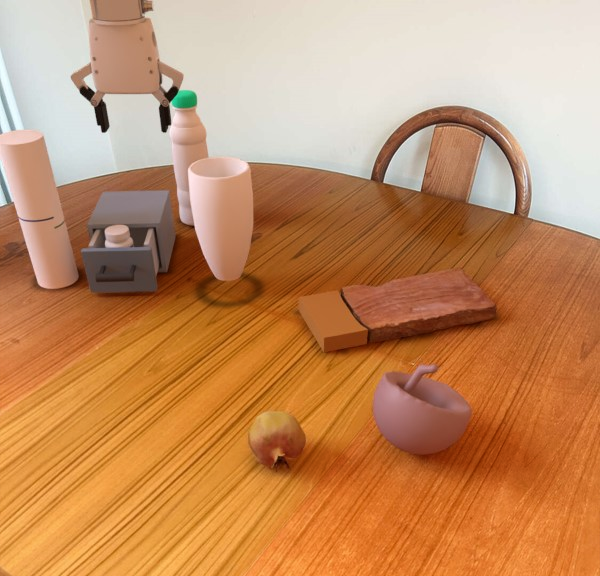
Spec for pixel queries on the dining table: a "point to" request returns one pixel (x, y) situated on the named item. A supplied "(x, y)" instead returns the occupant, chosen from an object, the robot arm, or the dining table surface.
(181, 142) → the water bottle
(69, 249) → the cylindrical container
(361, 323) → the brown flat slab
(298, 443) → the fruit
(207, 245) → the cup
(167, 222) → the cabinet
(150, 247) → the drawer
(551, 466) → the dining table surface
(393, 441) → the mortar and pestle
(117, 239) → the pill bottle
